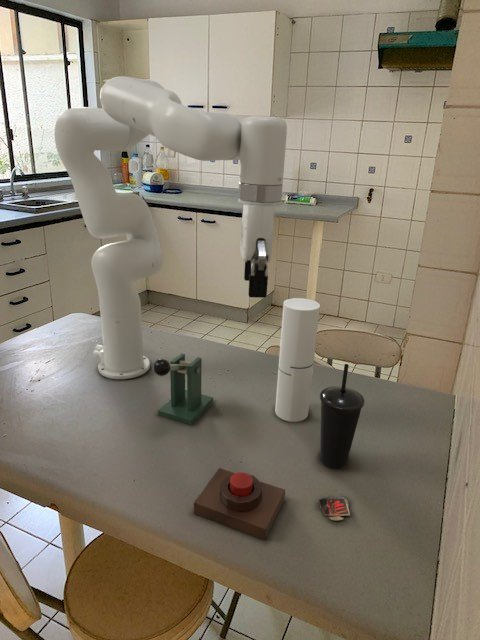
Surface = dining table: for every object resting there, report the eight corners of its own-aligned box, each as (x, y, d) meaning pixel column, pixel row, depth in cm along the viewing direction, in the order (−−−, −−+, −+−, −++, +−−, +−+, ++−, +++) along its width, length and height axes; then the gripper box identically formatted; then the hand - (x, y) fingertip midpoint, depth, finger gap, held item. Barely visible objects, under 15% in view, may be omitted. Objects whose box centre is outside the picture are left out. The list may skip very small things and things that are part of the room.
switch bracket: (191, 425, 95) (190, 374, 90) (157, 415, 97) (156, 365, 93) (213, 401, 103) (214, 354, 99) (182, 393, 106) (181, 346, 102)
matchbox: (315, 501, 76) (315, 498, 76) (343, 496, 77) (344, 493, 77) (327, 522, 72) (328, 520, 72) (357, 517, 73) (357, 514, 73)
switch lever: (163, 377, 85) (166, 360, 85) (148, 373, 86) (151, 357, 86) (194, 376, 97) (197, 361, 97) (180, 373, 98) (184, 358, 98)
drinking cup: (327, 479, 81) (340, 379, 74) (304, 453, 88) (315, 358, 80) (363, 468, 84) (379, 371, 77) (338, 444, 90) (351, 352, 83)
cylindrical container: (306, 423, 96) (319, 312, 87) (273, 418, 98) (281, 308, 88) (309, 405, 103) (320, 300, 94) (277, 401, 104) (285, 296, 95)
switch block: (193, 513, 73) (193, 493, 71) (219, 477, 80) (219, 459, 79) (265, 540, 68) (266, 519, 67) (284, 500, 76) (286, 480, 75)
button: (225, 492, 72) (226, 483, 71) (235, 478, 75) (235, 469, 75) (247, 500, 71) (247, 491, 70) (255, 485, 74) (256, 476, 73)
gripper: (235, 187, 88) (232, 274, 94) (242, 200, 72) (237, 304, 78) (274, 189, 88) (268, 275, 95) (290, 202, 72) (281, 304, 79)
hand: (254, 288), depth 86 cm, fingers open, 9 cm apart
